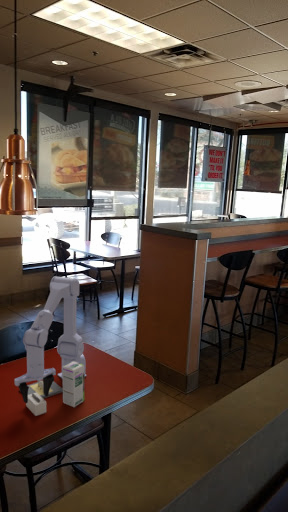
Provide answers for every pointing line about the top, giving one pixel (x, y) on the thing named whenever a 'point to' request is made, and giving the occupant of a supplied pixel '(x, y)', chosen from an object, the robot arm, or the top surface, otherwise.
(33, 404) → the block
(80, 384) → the syrup box
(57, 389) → the board
